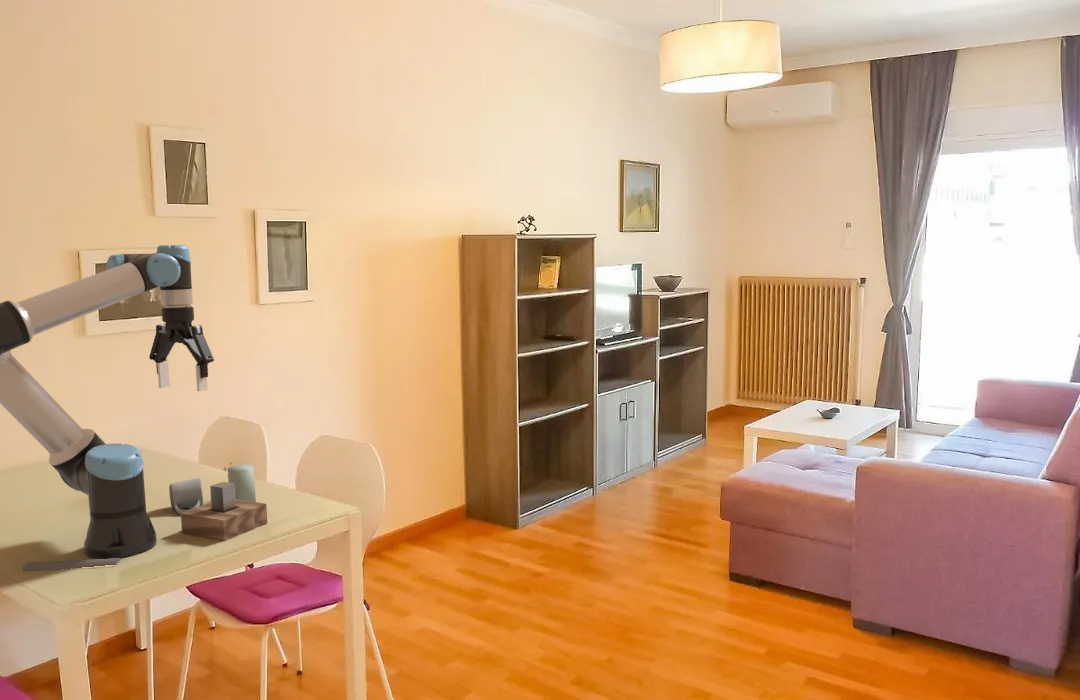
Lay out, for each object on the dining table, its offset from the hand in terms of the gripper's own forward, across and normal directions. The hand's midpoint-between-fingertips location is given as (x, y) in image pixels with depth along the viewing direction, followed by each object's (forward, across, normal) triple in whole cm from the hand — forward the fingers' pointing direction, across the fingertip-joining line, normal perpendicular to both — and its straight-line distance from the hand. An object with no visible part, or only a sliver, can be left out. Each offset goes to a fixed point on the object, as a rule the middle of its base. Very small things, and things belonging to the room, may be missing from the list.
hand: (183, 388), depth 223 cm
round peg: (+33, -10, -8) cm, 35 cm away
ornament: (+33, 0, -16) cm, 37 cm away
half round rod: (+34, -6, +38) cm, 51 cm away
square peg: (+33, -18, +6) cm, 38 cm away
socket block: (+33, -18, +6) cm, 38 cm away
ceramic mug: (+33, +3, -2) cm, 33 cm away
